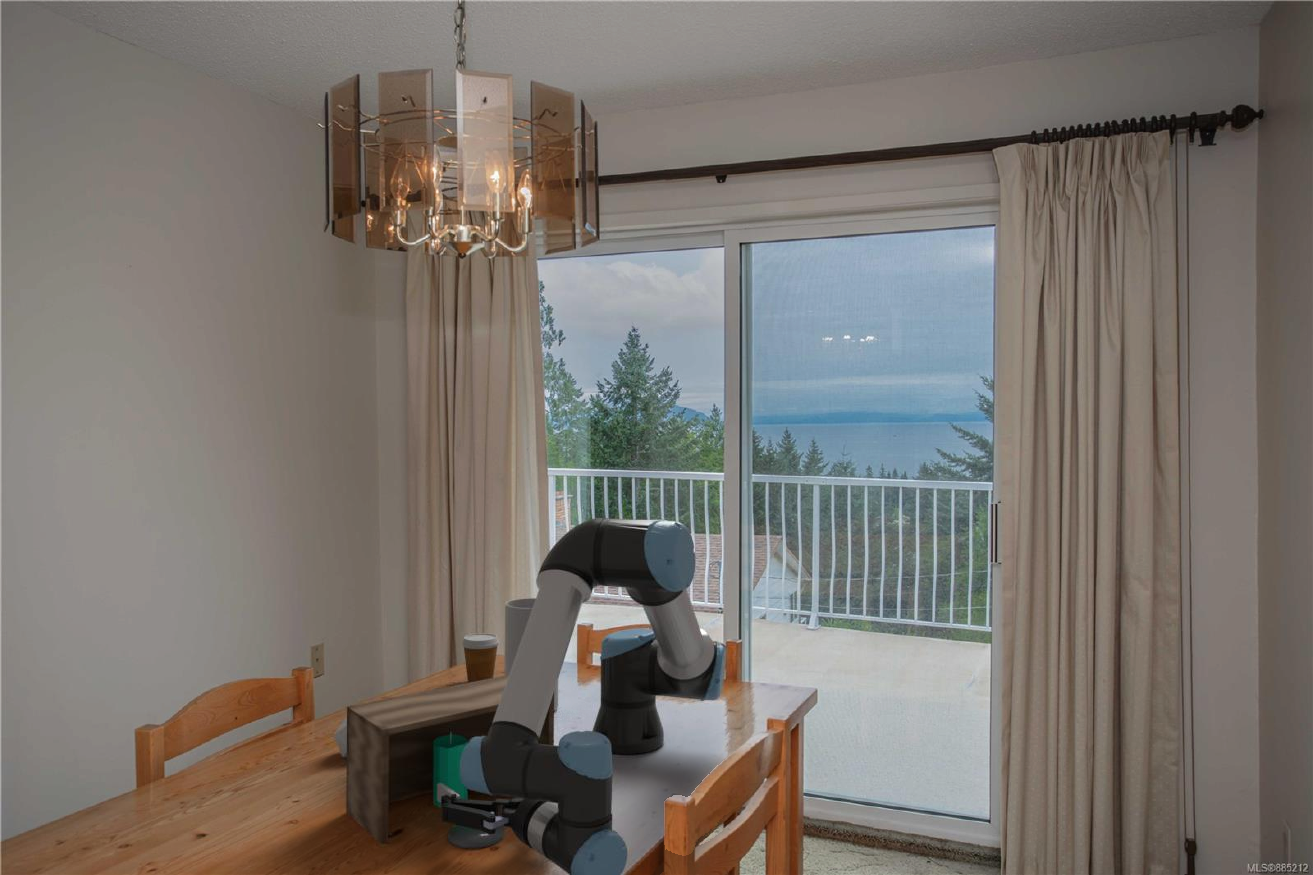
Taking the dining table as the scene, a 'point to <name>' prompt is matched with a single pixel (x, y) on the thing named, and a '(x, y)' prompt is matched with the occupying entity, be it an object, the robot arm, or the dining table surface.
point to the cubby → (412, 744)
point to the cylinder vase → (518, 632)
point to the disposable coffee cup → (480, 655)
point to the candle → (448, 764)
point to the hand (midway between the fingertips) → (476, 781)
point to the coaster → (474, 837)
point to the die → (342, 738)
